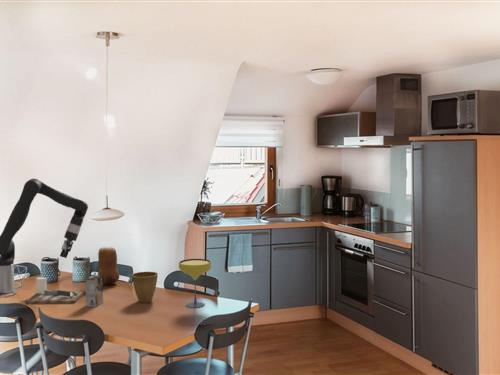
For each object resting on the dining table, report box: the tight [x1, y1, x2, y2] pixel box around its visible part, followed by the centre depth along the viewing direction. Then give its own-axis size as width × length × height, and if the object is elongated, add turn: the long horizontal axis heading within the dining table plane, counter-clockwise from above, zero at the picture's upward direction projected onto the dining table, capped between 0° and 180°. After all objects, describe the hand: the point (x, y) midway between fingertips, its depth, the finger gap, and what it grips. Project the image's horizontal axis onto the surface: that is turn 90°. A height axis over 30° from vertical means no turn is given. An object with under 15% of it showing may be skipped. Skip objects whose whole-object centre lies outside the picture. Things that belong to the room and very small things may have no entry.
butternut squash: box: [97, 246, 120, 286], centre depth 357 cm, size 14×13×25 cm
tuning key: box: [35, 276, 71, 297], centre depth 325 cm, size 24×4×9 cm, turn 67°
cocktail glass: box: [178, 258, 212, 309], centre depth 310 cm, size 18×18×25 cm
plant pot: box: [131, 271, 159, 303], centre depth 319 cm, size 15×15×16 cm
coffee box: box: [84, 274, 104, 308], centre depth 312 cm, size 9×6×16 cm
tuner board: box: [25, 290, 85, 305], centre depth 325 cm, size 28×20×3 cm
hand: (62, 257), depth 334 cm, fingers open, 8 cm apart
